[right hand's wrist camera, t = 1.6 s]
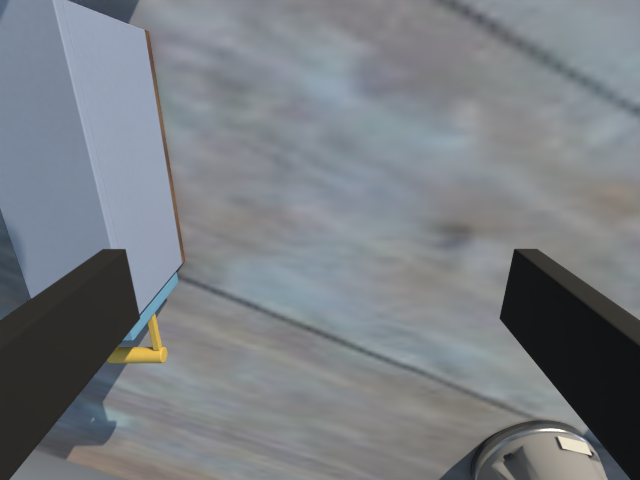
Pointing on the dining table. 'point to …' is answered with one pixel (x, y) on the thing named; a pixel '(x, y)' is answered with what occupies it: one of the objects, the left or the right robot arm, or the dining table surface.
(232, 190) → the dining table surface
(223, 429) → the dining table surface
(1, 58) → the cabinet
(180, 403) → the dining table surface
